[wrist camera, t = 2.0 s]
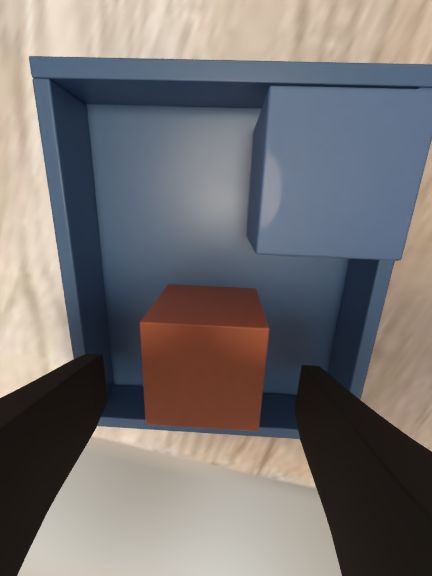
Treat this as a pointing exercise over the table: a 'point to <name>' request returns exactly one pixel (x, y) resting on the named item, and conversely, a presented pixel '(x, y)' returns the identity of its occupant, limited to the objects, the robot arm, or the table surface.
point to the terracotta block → (204, 357)
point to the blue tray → (192, 217)
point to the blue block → (337, 171)
